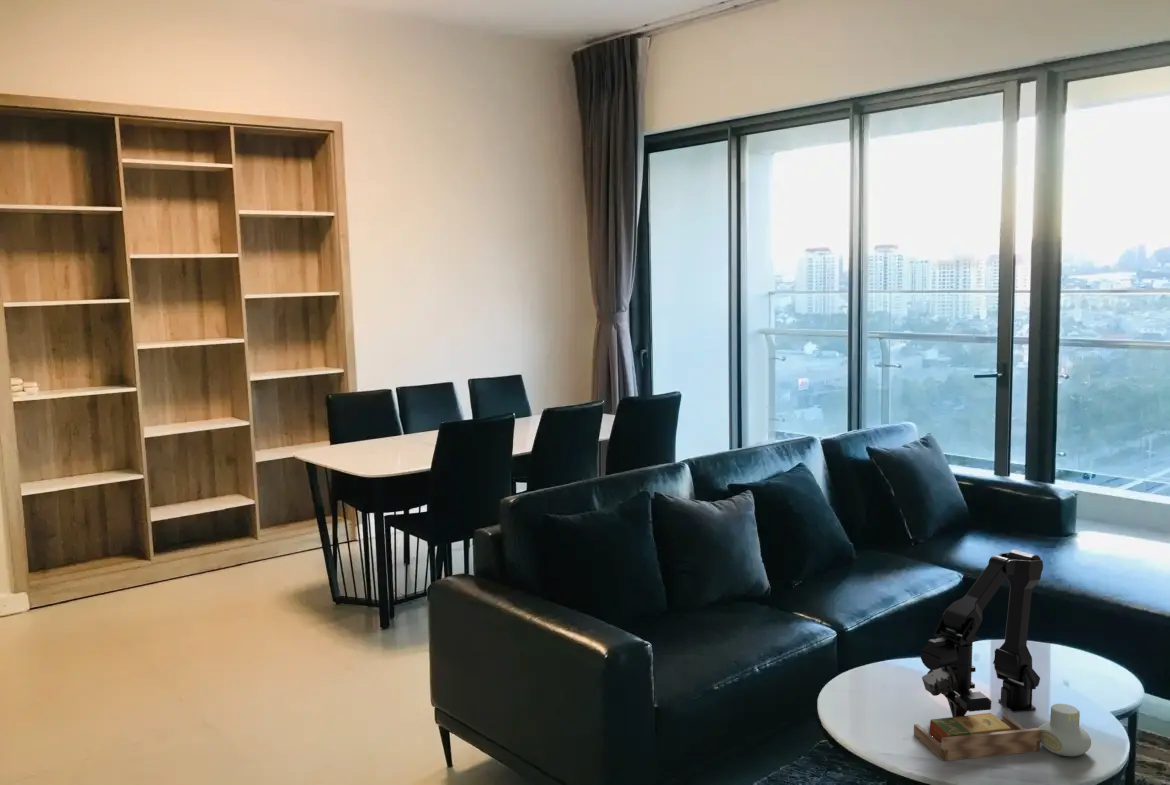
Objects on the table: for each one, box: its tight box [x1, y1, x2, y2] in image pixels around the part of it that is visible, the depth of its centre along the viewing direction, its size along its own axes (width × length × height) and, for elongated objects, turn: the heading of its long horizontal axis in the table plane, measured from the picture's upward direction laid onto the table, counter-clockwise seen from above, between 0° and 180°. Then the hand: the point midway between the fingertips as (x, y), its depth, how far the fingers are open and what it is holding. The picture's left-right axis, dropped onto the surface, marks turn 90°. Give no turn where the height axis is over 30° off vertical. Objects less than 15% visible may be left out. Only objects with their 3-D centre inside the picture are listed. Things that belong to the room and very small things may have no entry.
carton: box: [928, 712, 1011, 744], centre depth 223 cm, size 8×16×4 cm, turn 100°
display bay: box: [913, 714, 1041, 762], centre depth 221 cm, size 24×13×5 cm, turn 100°
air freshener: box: [1038, 703, 1092, 757], centre depth 217 cm, size 11×8×10 cm
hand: (957, 722), depth 229 cm, fingers closed
